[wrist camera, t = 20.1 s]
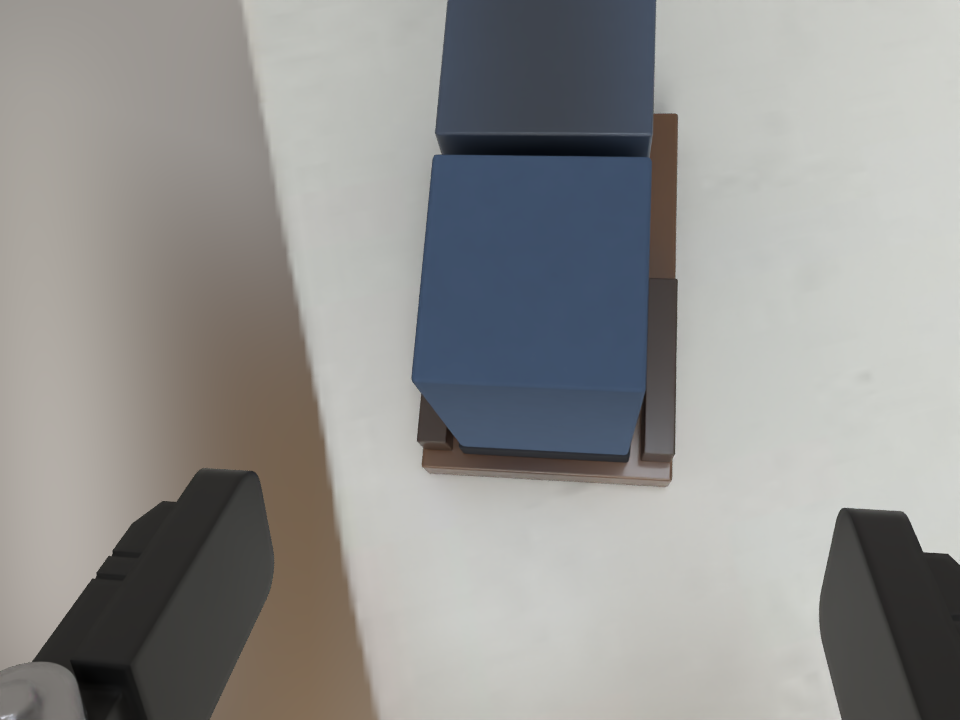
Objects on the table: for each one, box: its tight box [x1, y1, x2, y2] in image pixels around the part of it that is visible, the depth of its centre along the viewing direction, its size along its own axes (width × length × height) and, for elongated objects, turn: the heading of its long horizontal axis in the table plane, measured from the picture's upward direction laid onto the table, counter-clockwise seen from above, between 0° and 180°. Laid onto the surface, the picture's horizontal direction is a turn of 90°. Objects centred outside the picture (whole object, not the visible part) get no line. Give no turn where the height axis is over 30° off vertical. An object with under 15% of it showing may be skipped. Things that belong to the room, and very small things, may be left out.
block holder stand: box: [417, 0, 678, 487], centre depth 22 cm, size 7×11×9 cm, turn 176°
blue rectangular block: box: [412, 155, 652, 463], centre depth 21 cm, size 4×5×8 cm
